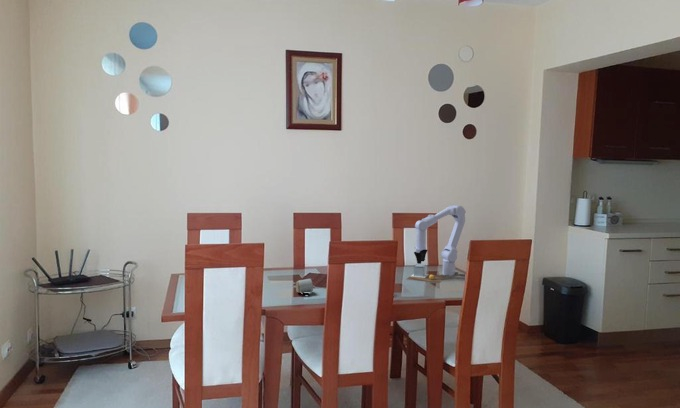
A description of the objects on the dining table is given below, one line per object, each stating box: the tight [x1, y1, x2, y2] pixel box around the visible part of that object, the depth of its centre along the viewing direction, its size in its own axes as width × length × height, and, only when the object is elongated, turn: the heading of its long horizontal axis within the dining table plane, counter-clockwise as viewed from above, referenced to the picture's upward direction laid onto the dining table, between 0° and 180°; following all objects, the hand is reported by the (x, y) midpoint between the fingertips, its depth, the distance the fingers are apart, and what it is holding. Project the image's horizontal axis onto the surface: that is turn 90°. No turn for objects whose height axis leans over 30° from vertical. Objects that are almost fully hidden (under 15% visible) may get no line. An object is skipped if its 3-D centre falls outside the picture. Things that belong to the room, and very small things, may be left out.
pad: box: [409, 273, 430, 278], centre depth 288 cm, size 9×9×1 cm
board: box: [405, 274, 447, 284], centre depth 283 cm, size 18×20×1 cm
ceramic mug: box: [295, 278, 314, 295], centre depth 251 cm, size 11×8×8 cm
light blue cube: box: [413, 263, 426, 277], centre depth 288 cm, size 6×6×6 cm
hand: (420, 262), depth 288 cm, fingers open, 7 cm apart
